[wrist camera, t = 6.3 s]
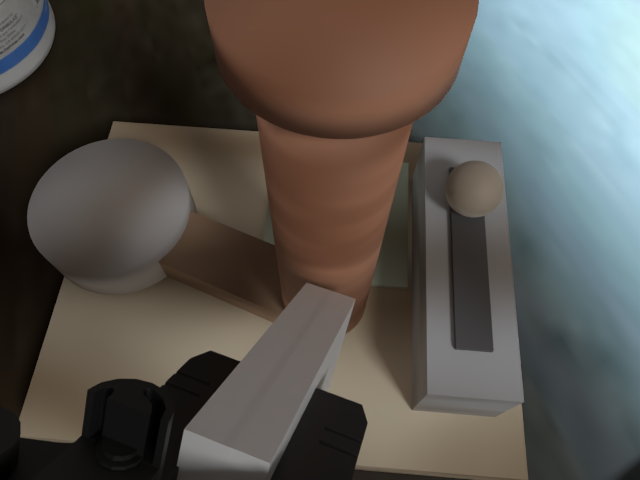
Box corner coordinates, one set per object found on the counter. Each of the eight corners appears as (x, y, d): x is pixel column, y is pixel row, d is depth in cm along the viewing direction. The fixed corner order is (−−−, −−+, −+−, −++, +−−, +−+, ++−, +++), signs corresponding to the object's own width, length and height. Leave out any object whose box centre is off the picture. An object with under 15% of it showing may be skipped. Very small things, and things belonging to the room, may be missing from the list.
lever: (19, 259, 22) (-415, -111, 9) (105, 148, 24) (-134, -268, 11) (341, 406, 19) (398, 194, 6) (399, 265, 22) (525, -92, 9)
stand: (126, 146, 27) (69, 35, 21) (486, 172, 27) (540, 66, 20) (39, 442, 21) (-81, 411, 14) (509, 482, 20) (597, 469, 14)
